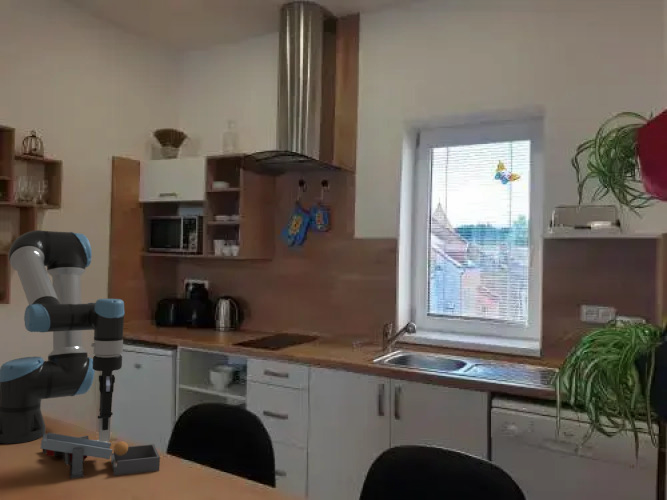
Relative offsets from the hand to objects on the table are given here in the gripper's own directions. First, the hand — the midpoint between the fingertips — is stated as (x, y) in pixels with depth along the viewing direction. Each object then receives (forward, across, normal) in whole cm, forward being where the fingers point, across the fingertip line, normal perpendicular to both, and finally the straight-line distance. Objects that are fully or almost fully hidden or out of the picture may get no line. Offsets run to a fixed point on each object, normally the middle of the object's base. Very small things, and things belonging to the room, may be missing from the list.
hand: (104, 440), depth 154 cm
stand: (+5, +7, -7) cm, 11 cm away
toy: (+6, -6, -9) cm, 13 cm away
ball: (0, +7, +4) cm, 8 cm away
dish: (+5, +7, +8) cm, 11 cm away
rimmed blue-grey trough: (0, +4, -7) cm, 8 cm away
